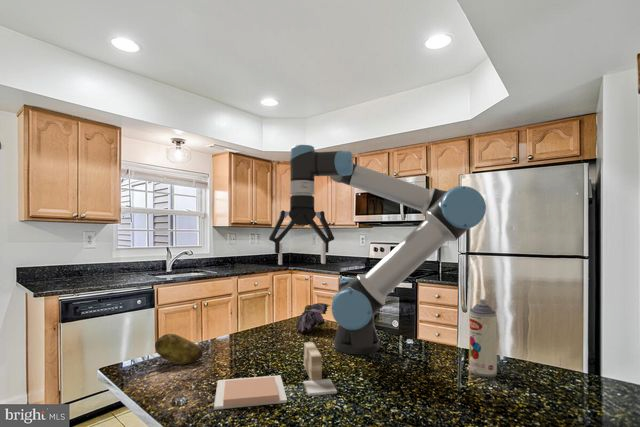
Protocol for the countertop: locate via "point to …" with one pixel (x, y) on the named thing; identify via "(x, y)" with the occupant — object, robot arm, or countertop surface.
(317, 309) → the decorative flower
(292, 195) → the robot arm
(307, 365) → the scraper
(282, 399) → the mat
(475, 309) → the aerosol can
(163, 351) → the potato
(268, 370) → the countertop surface
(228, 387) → the tile
